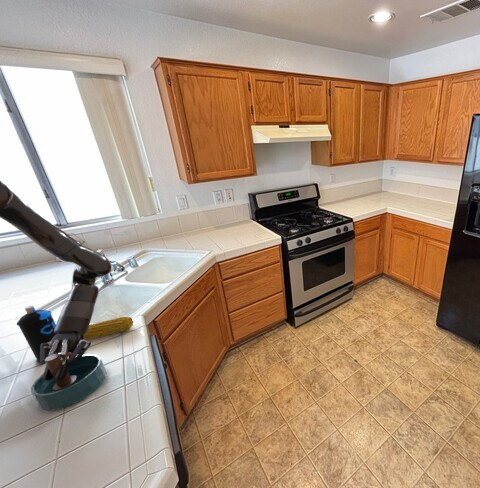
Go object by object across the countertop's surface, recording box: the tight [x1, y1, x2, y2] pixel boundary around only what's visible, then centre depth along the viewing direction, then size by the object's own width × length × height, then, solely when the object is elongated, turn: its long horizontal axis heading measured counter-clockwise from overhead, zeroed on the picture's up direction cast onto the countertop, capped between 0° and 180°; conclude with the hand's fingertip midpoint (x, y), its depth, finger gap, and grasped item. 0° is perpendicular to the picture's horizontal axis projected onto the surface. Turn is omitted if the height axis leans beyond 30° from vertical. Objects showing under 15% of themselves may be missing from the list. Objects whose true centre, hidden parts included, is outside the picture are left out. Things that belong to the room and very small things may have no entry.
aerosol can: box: [16, 305, 57, 364], centre depth 90 cm, size 8×8×20 cm
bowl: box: [30, 353, 108, 411], centre depth 78 cm, size 15×15×6 cm
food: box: [84, 316, 134, 340], centre depth 102 cm, size 21×6×6 cm, turn 109°
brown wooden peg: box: [45, 353, 78, 392], centre depth 76 cm, size 5×5×11 cm
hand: (53, 379), depth 74 cm, fingers closed on brown wooden peg, 3 cm apart
